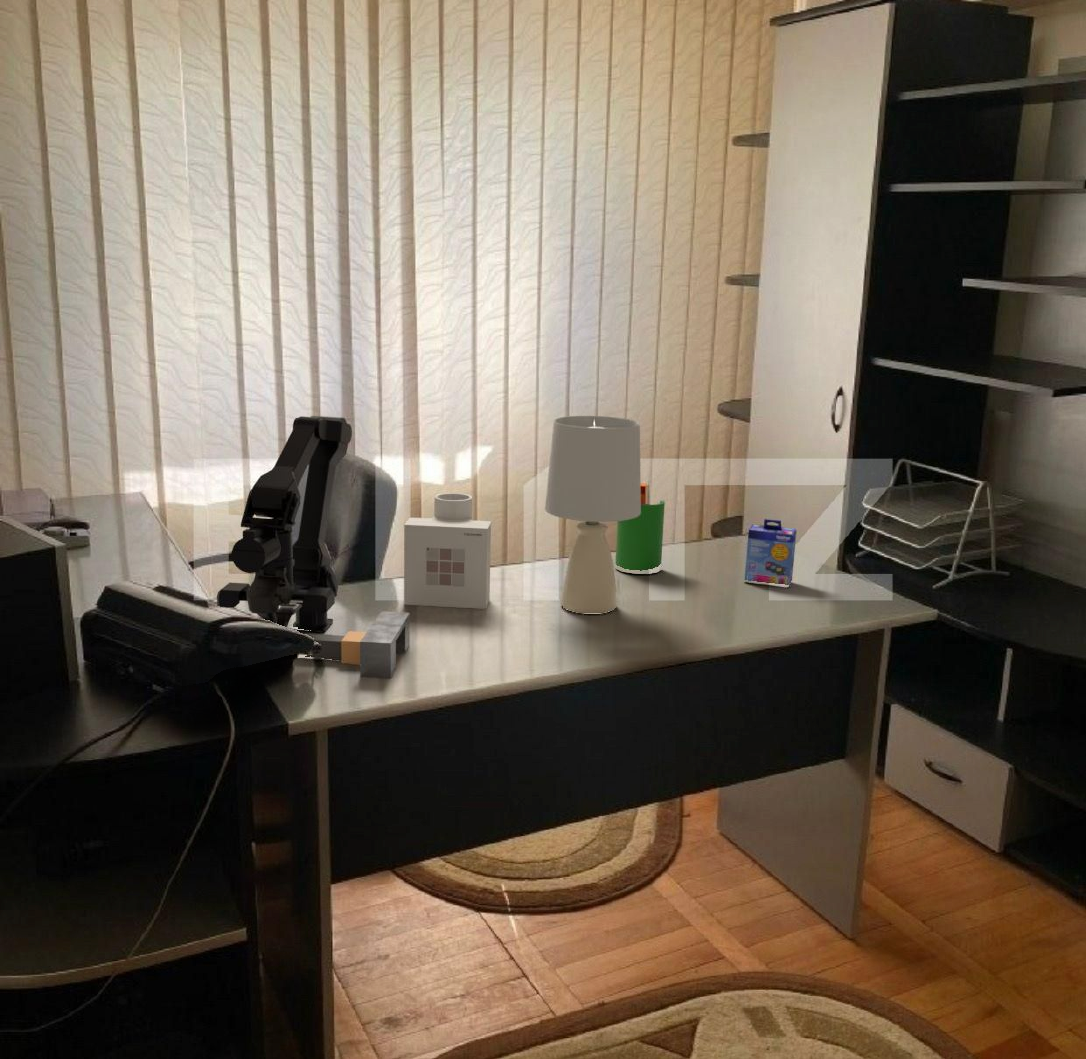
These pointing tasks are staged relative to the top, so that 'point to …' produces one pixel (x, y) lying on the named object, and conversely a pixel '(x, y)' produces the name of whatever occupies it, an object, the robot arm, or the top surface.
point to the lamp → (593, 499)
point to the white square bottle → (447, 556)
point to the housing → (384, 644)
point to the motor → (641, 537)
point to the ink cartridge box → (770, 553)
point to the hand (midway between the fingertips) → (277, 645)
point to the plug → (339, 646)
